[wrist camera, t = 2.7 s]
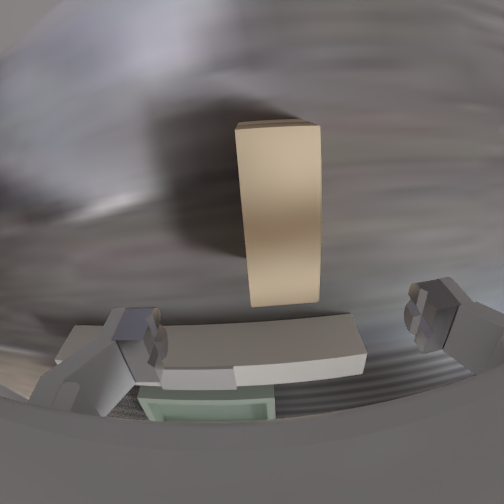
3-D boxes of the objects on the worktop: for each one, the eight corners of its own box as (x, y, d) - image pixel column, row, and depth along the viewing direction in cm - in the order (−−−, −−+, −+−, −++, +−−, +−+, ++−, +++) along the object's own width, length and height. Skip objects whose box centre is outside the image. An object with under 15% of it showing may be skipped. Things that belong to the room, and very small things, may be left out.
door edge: (351, 312, 26) (368, 355, 21) (348, 334, 27) (363, 376, 23) (74, 324, 27) (52, 361, 22) (83, 343, 28) (64, 380, 23)
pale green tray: (273, 375, 30) (274, 397, 27) (274, 415, 33) (276, 435, 31) (142, 377, 30) (136, 397, 27) (162, 416, 33) (158, 434, 31)
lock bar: (238, 122, 19) (234, 129, 14) (300, 118, 19) (320, 125, 14) (250, 258, 24) (251, 307, 18) (303, 254, 24) (318, 301, 18)
